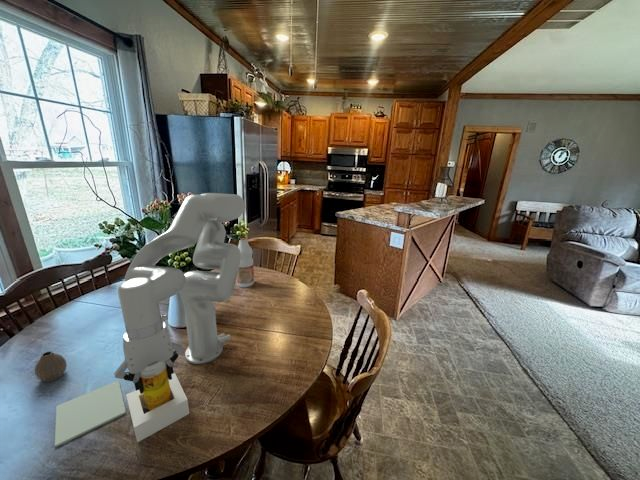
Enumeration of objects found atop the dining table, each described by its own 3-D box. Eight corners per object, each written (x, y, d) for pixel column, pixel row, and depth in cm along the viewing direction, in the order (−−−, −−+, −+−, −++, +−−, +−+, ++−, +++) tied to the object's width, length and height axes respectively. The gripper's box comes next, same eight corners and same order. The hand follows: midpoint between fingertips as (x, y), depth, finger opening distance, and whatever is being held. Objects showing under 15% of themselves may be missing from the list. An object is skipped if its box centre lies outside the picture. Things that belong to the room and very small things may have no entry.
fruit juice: (233, 283, 150) (230, 235, 142) (248, 278, 156) (246, 233, 148) (242, 289, 144) (239, 240, 135) (257, 284, 150) (255, 236, 142)
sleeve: (176, 385, 82) (174, 372, 81) (189, 413, 74) (187, 399, 72) (129, 408, 75) (126, 394, 73) (137, 442, 66) (133, 427, 65)
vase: (74, 368, 87) (68, 346, 85) (55, 385, 81) (47, 362, 78) (52, 368, 87) (45, 346, 84) (31, 385, 80) (23, 362, 78)
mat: (119, 381, 83) (118, 380, 83) (125, 413, 73) (125, 411, 73) (56, 407, 74) (56, 405, 74) (55, 447, 64) (54, 445, 64)
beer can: (143, 415, 70) (133, 369, 66) (150, 396, 76) (141, 352, 71) (169, 409, 72) (161, 365, 68) (173, 391, 78) (166, 349, 73)
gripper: (177, 307, 75) (184, 360, 80) (98, 333, 63) (113, 392, 69) (186, 320, 69) (193, 374, 75) (102, 350, 58) (118, 412, 64)
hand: (155, 382), depth 72 cm, fingers closed on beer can, 6 cm apart
